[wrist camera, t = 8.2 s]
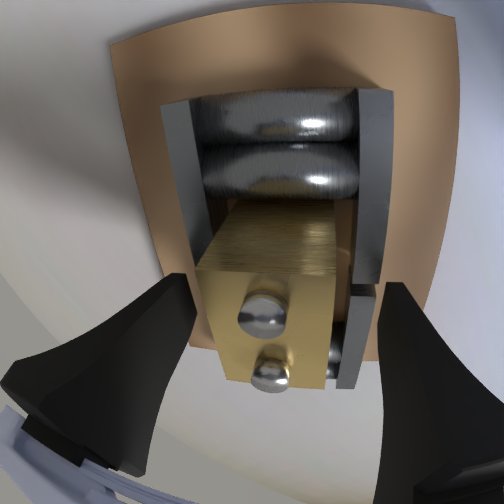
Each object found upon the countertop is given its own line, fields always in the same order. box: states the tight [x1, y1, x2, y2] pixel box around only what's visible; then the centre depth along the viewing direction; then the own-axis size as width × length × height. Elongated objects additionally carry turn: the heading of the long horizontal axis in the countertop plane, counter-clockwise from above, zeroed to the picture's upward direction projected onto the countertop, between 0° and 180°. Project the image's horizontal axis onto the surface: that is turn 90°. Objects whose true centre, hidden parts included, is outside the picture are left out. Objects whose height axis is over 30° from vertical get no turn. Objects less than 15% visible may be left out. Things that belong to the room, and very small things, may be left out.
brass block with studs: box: [194, 199, 336, 393], centre depth 10 cm, size 4×5×6 cm
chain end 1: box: [160, 86, 394, 284], centre depth 10 cm, size 7×7×2 cm
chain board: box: [110, 2, 460, 361], centre depth 12 cm, size 13×17×1 cm
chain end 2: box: [326, 265, 377, 389], centre depth 14 cm, size 7×7×2 cm
